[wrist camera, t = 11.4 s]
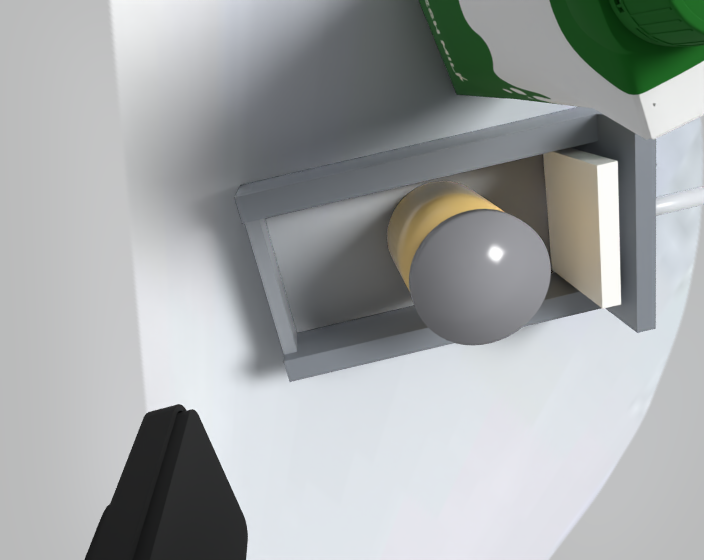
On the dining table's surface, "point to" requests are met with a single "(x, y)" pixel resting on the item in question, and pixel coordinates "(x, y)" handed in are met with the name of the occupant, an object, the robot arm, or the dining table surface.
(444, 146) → the grey open rectangular box
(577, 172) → the pusher
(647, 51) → the milk carton
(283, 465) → the dining table surface
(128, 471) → the robot arm
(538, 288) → the honey jar
